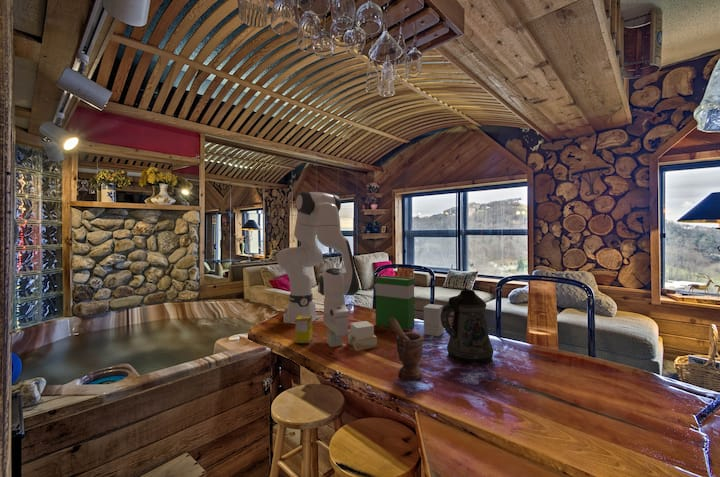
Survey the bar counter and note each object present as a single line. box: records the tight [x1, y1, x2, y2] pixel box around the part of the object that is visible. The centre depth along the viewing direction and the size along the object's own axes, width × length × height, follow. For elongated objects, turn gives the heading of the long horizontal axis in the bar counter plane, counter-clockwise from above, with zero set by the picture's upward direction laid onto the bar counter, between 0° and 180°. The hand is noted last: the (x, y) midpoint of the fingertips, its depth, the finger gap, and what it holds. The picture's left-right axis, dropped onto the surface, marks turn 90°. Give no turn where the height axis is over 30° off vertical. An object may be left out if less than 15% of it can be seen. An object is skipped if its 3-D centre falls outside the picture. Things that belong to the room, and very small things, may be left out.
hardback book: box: [375, 274, 415, 331], centre depth 158 cm, size 18×7×24 cm, turn 59°
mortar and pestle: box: [388, 317, 424, 381], centre depth 103 cm, size 12×9×20 cm
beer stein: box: [440, 289, 494, 366], centre depth 118 cm, size 16×19×25 cm
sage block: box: [326, 330, 343, 348], centre depth 134 cm, size 5×5×5 cm
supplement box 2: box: [423, 303, 445, 337], centre depth 146 cm, size 7×7×13 cm
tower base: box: [347, 332, 378, 351], centre depth 132 cm, size 9×9×4 cm
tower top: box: [349, 320, 375, 339], centre depth 132 cm, size 8×8×4 cm
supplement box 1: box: [294, 315, 313, 345], centre depth 136 cm, size 6×6×11 cm
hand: (334, 340), depth 134 cm, fingers closed on sage block, 5 cm apart
